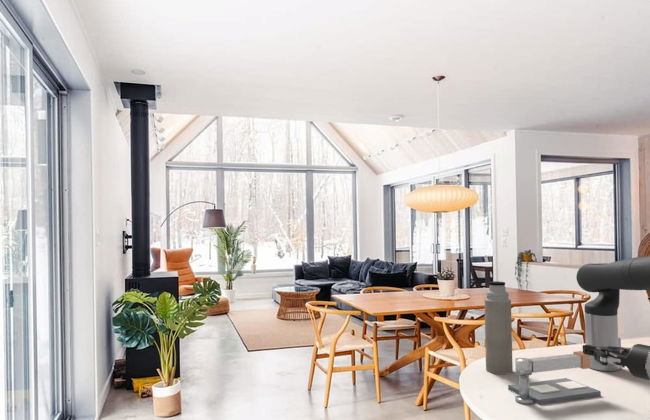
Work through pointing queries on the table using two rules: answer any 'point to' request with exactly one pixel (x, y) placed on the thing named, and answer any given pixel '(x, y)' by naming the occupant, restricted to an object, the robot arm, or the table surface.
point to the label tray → (557, 390)
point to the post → (524, 391)
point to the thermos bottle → (498, 329)
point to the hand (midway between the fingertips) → (584, 348)
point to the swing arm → (552, 363)
